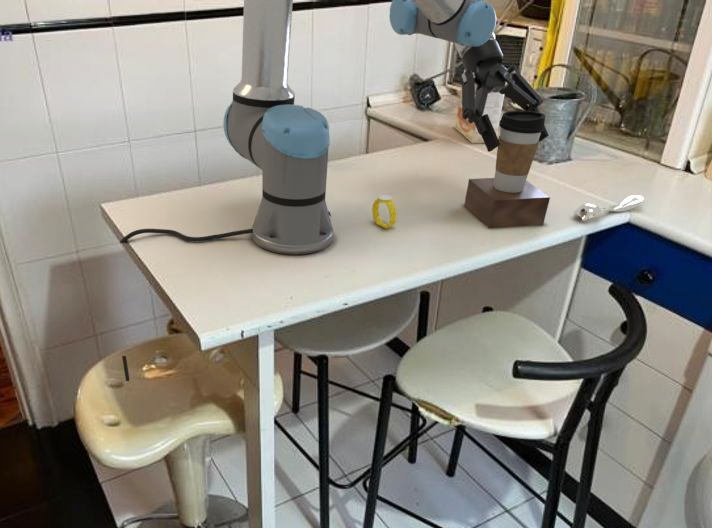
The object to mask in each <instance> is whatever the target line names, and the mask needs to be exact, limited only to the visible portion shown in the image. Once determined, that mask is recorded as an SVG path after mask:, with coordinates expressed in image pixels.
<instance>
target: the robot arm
mask: <svg viewBox="0 0 712 528" xmlns="http://www.w3.org/2000/svg"><path fill="white" fill-rule="evenodd" d="M293 4H294V0H243V17H242V19H243V20H242V49H241V50H242V51H241V53H242V54H241V56H242V57H241V80H240V82H239V83H238V84H236V85H235V87H233V89H232V101H231V103H230V104H229V105H228V106H227V108H226V109H225V112H224V115H223V124H222V125H223V132H224V136H225V138H226V140H227V142H228V144H229V145H230V146H231V147H232V148H233V150H234V151H235V152H236V153H237V154H239V156H240V157H242V158H243V159H245V160H248V161H249V162H250V163H252V164H253V165H255V166H256V167H257V168H259V169H260V170H261V172H262V174H261V175H262V177H261V178H262V186H261V187H262V193H261V194H262V195H261V196H262V197H261V200H260V203H259V207H258V209H257V212H256V215H255V218H254V220H253V224H252V228H248V229H241V230H234V231H229V232H223V233H219V234H218V233H216V234H211V235H206V236H188V235H186V234H183V233H181V232H179V231H178V230H177V231H176V230H173V229H164V228H163V229H162V228H140V229H137V230H133V231H131V232H129V233H127V234H126V235H125V236H124V237H123V238H122V239H121V240H120V241H119V243H120V244H125V243H126V242H127V241H128V240H130V239H131V238H133V237H135V236H137V235H142V234H164V235H165V234H167V235H173V236H176V237H178V238H180V239H181V240H184V241H187V242H206V241H207V242H208V241H211V240H218V239H219V240H220V239H225V238H229V237H236V236H240V235H246V234H247V235H248V234H252V235H251V237H252V241H253V242H254V243H255V245H257V246H259V247H261V248H262V249H264V250H266V251H269V252H273V253H276V254H282V255H307V254H312V253H317V252H320V251H322V250H325V249H326V248H328V247H329V246H331V244H332V242H333V240H334V239H333V238H334V227H333V223H332V220H331V217H332V214H331V212H330V211H329V210H328V206H327V201H326V195H327V194H326V193H327V179H328V165H329V163H328V161H329V148H330V144H331V138H330V125H329V122H328V119H327V118H326V116H325V115H324V114H322V113H321V112H320V111H318V110H317V109H314V108H312V107H304V106H303V105H299V104H295V97H296V96H295V91H294V90H293V89H292V88H291V87H290V85H289V82H288V81H289V79H288V78H289V65H290V64H289V63H290V48H291V47H290V46H291V36H292V35H291V33H292V17H293ZM389 23H390V26H391V29H392V30H393V31H394V33H396V34H397V35H400V36H404V35H405V36H406V35H408V36H412V35H414V34H415V35H416V34H417V35H418V34H419V35H424V36H426V37H427V36H428V37H431V38H434V39H440V40H443V41H447V42H450V43H453V44H454V46H455V48H456V50H457V53H458V55H459V57H460V58H461V63H462V65H463V68H464V69H465V70H466V71H465V72H464V71H463V73H462V74H461V75H460V76H459V82H460V85H461V88H462V117H463V118H464V119H467V118H469V119H468V122H469V123H471V124H472V123H473V122H474V123H475V126H476V128H477V130H478V133H479V134H480V135H481V136H482V138H483V140H484V143H483V144H484V145H485V147H486V150H487V152H492V151H494V150H495V149H497V148H498V146H499V145H500V142H499V140H498V139H499V137H498V134H497V135H496V133H495V131H494V128H493V126H492V124H491V121H490V119H489V117H488V114H485V115H483V112H484V108H485V104H486V100H487V96H488V93H491V92H495V93H496V92H499V93H500V94H505V95H504V96H506V97H507V98H508V99H510V100H511V101H512V102H513V103H514V104H516V105H517V106H519V107H520V108H521V109H522V111H534V112H540V110H539V106H541V105H542V104H543V103H544V100H543V98H542V97H541V96H540V95H539V93H538V92H537V91H536V90H535V89H534V87H532V86H531V85H530V83H529V82H528V81H527V80H526V78H524V76H523V75H522V74H521V72H520V71H519V69H518V67H517V65H516V64H512V65H511V66H509V67H505V66H504V65H503V58H504V54H503V52H502V49H501V48H500V44H499V42H498V41H497V40H496V35H495V32H494V31H495V29H496V24H497V14H496V10H495V8H494V6H492V5H491V3H489V2H487V1H486V2H485V1H484V0H392V1H391V3H390V7H389ZM506 82H507V84H506ZM475 84H477V87H476V91H475ZM505 85H506V86H505ZM475 94H476V96H475ZM482 115H483V116H482ZM548 137H549V133H548V131H547V128H546V126H545V127H544V131H543V132H541V134H540V137H539V143H540V142H542V141H543V140H545V139H546V138H548ZM121 359H122V365H123V371H124V372H123V373H124V377H125V378H124V379H125V382H126V381H129V380H130V373H129V367H128V361H127V355H122V356H121Z"/></svg>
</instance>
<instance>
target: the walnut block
mask: <svg viewBox="0 0 712 528" xmlns="http://www.w3.org/2000/svg"><path fill="white" fill-rule="evenodd" d="M494 178H495V177H482V178H469V179H468V182H467V188H466V193H465V199H464V204H463V206H464V207H465V208H466V209H467V210H468V211H469V212H471V213H472V214H473V215H474V216H475V217H476V218H477V219H478V220H479V221H481V222H482V223H483V225H485V226H486V227H487V228H488V229H497V228H498V229H500V228H516V227H533V226H544V224H545V220H546V216H547V212H548V208H549V204H550V200H551V197H550V196H549V195H548V194H546V193H544V192H543V191H542V190H540V189H539V188H537V187H536V186H535V185H533V184H532V183H530V182H529V181H528V180H526V182H525V186H524V189H523V191H521V192H518V193H508V192H503V191H500V190H497V189H496V188H495V187H494Z"/></svg>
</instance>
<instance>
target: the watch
mask: <svg viewBox="0 0 712 528" xmlns="http://www.w3.org/2000/svg"><path fill="white" fill-rule="evenodd" d="M381 203H382V204H386V206H387V209H388V212H389V220H388V223H385V222H383V221H382V219H381V217H380V213H379V206H380V204H381ZM371 214H372V218H373V220H374V223H375V224H376V225H378V226H380V227H382V228H384V229H389V228H392V227H393V226H394V225H395V222H396V220H397V209H396V206H395V204H394V203H393V197H392V196H390V195H386V194H385V195H384V194H382V195H378V196H377V199H375V201H373V204H372V208H371Z"/></svg>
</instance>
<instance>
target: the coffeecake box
mask: <svg viewBox="0 0 712 528" xmlns="http://www.w3.org/2000/svg"><path fill="white" fill-rule="evenodd" d="M465 71H466V70H465V68H464V69H463V73H464V72H465ZM507 84H508V83H507V82H506V85H507ZM506 85H505V86H506ZM476 87H477V84H475V91H476ZM459 94H460V95H459V102H458V107H457V114H456V119H455V126H454V128H455V129H456V131H458V132H459V133H460V134H461V135H462V136H464V137H465V138H466V139H467V140H468V141H469V142H470V143H471V144H485V143H484V140H483V138H482V136H481V135H480V134H479V133H478V130H477V128H476V126H475V123H474V122H473V123H472V124H471V123H469V122H468V119H469V118H467V119H464V118H463V117H462V87H461V89H460V93H459ZM475 96H476V94H475ZM505 96H506V95H505V94H500V93H499V92H496V93H495V92H491V93H488V96H487V100H486V104H485V108H484V112H483V115H485V114H488V117H489V119H490V121H491V124H492V126H493V128H494V131H495V133H496V135H497V136H498V131H499V127H500V126H499V124H500V120H501V117H502V116H501V115H502V110H503V104H504V100H505ZM483 115H482V116H483Z"/></svg>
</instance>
